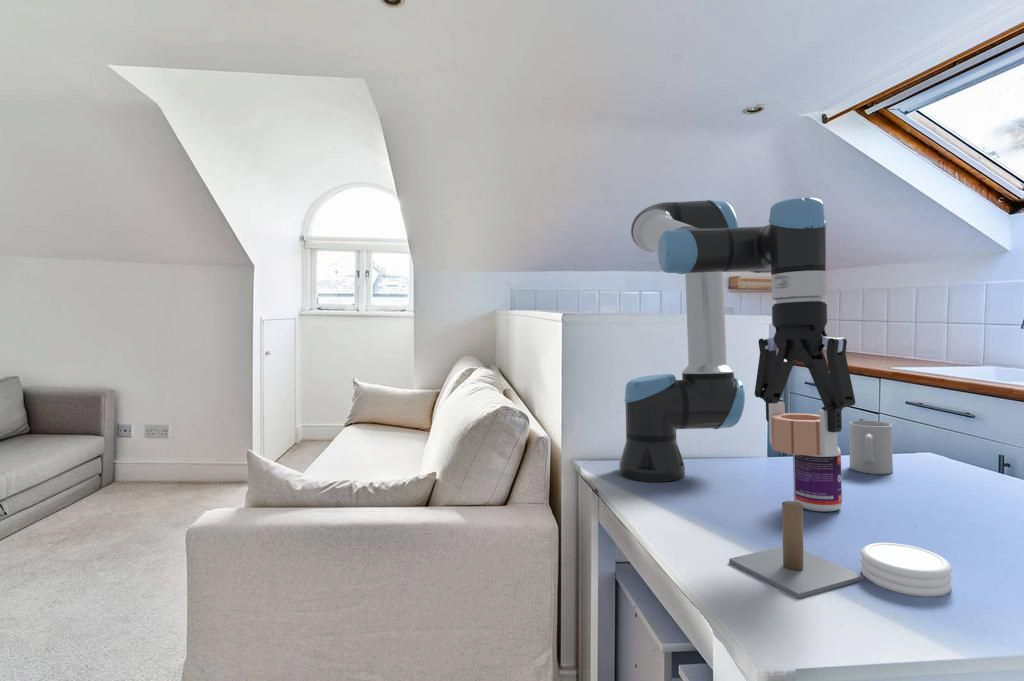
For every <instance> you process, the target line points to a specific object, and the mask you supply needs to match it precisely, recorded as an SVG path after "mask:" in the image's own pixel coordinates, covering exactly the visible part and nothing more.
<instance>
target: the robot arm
mask: <svg viewBox="0 0 1024 681" xmlns="http://www.w3.org/2000/svg"><path fill="white" fill-rule="evenodd" d="M769 210H770V211H769V218H768V223H769V224H767V225H764V226H744V227H743V226H742V227H741V226H739V224H738V218H737V215H736V212H735V210H734V207H732V206H731V204H729V203H728V202H726V201H725V200H712V199H707V200H693V201H690V200H689V201H665V202H664V201H663V202H660V203H659V202H658V203H654V204H652V205H649V206H648V207H646V208H643V209H642V210H641V211H640V212H639V213H638V214H637V215H636V216H635V217H634V218H633V221H632V223H631V228H630V235H631V239H632V240H633V243H634V244H635V245H636V246H637V247H639V248H640V249H641V250H642V251H645V252H648V253H656V254H657V258H658V259H657V260H658V263H659V265H660V269H661V270H662V271H663V273H667V274H679V275H684V274H685V299H686V300H685V301H686V305H685V307H686V327H687V328H686V330H687V333H686V334H687V336H686V337H687V360H688V364H687V366H686V367H685V369H683V370H682V372H681V375H682V379H677V378H676V375H674V374H673V373H663V374H651V375H645V376H640V377H635V378H633V379H630V380H629V381H628V382H627V383H626V385H625V390H624V391H625V393H624V403H625V404H624V405H625V443H624V448H623V451H622V453H621V454H622V455H621V458H620V461H619V464H618V466H619V474H620V475H621V476H623V477H624V478H627V479H630V480H635V481H642V482H657V483H658V482H662V483H663V482H671V481H677V480H680V479H683V478H684V477H685V475H686V471H685V470H686V467H685V463H684V460H683V457H682V454H681V451H680V447H679V445H678V442H677V441H678V440H677V430H697V429H698V430H699V429H700V430H702V429H713V430H719V429H727V428H733V427H735V426H736V425H737V424H738V423H739V421H740V420H741V417H742V415H743V414H744V409H745V399H746V394H745V389H744V385H743V382H742V381H741V379H739V378H736V377H735V371H734V370H733V369H732V368H731V367H730V366H729V365H728V364H727V343H726V342H727V340H726V339H727V337H726V316H725V315H726V314H725V310H726V309H725V289H724V288H725V286H724V284H725V283H724V272H725V273H729V272H730V273H732V272H750V273H755V274H760V273H761V274H762V273H764V274H765V273H766V274H767V273H771V274H770V275H771V299H772V300H773V301H775V302H776V303H773V305H772V306H771V318H772V319H771V320H772V322H771V323H772V326H773V327H774V328H775V332H774V336H773V337H769V338H768V337H767V338H766V337H765V338H763V337H762V338H759V339H758V347H759V358H758V366H757V374H756V380H755V387H754V396H755V397H756V398H760V399H761V400H763V401H764V402H765V419H766V421H767V423H768V430H769V431H768V433H769V434H768V436H769V438H768V439H769V444H770V445H772V438H771V415H775V414H784V413H786V408H785V407H786V405H785V404H786V402H783V401H784V399H783V398H782V395H783V393H784V391H785V387H786V385H787V382H788V380H789V378H790V375H791V372H792V370H793V367H794V366H795V365H796V364H797V362H799V363H803V365H804V366H805V368H807V369H808V372H809V374H810V375H811V379H812V381H813V383H814V386H815V388H816V390H817V393H818V395H819V397H820V400H821V401H822V403H823V407H821V409H819V415H820V454H823V455H828V454H835V453H838V447H839V446H838V444H839V443H838V441H839V440H838V438H839V437H838V436H839V435H838V433H840V432H841V431H842V429H843V425H842V424H843V422H842V419H843V418H842V411H843V409H844V408H847V407H853V406H854V405H856V397H855V394H854V388H853V384H852V380H851V374H850V369H849V365H848V360H847V356H846V354H847V353H846V352H847V343H848V342H847V339H846V337H833V336H831V337H830V336H828V335H827V333H826V325H828V304H827V303H826V302H825V301H823V299H825V298H827V297H828V289H827V288H828V285H827V271H826V270H827V268H826V266H827V263H826V262H827V258H826V257H827V254H826V253H827V249H826V248H827V243H826V242H827V241H826V240H827V238H826V234H827V233H826V232H827V231H826V230H827V229H826V226H827V221H826V218H825V206H824V203H823V201H822V199H818V198H816V197H797V198H790V199H786V200H785V199H784V200H781V201H778V202H776V203H774V204H772V206H771V207H770V209H769ZM823 349H824V350H825V351H826V356H825V354H824V351H823Z"/></svg>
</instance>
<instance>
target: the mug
mask: <svg viewBox="0 0 1024 681" xmlns="http://www.w3.org/2000/svg"><path fill="white" fill-rule="evenodd" d="M848 426H849V427H848V429H849V430H848V431H849V432H848V433H849V469H851V470H852V469H853V470H852V471H854V470H855V471H854V472H857V471H859V472H858V473H861V472H863V473H862V474H866V473H870V474H869V475H877V474H884V475H889V474H893V472H894V467H893V466H894V463H893V425H892V424H891V423H889V422H884V421H878V420H877V421H876V420H852V421H849V423H848Z"/></svg>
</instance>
